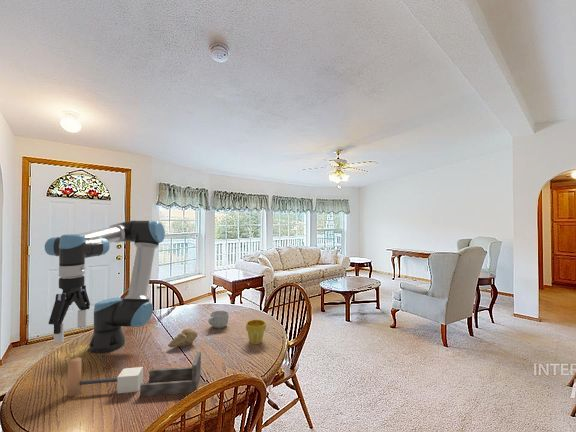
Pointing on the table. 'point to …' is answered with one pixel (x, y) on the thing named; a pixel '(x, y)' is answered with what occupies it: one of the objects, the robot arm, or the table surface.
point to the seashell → (184, 338)
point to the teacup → (219, 319)
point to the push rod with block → (125, 381)
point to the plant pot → (255, 330)
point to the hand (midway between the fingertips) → (71, 334)
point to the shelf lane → (173, 374)
